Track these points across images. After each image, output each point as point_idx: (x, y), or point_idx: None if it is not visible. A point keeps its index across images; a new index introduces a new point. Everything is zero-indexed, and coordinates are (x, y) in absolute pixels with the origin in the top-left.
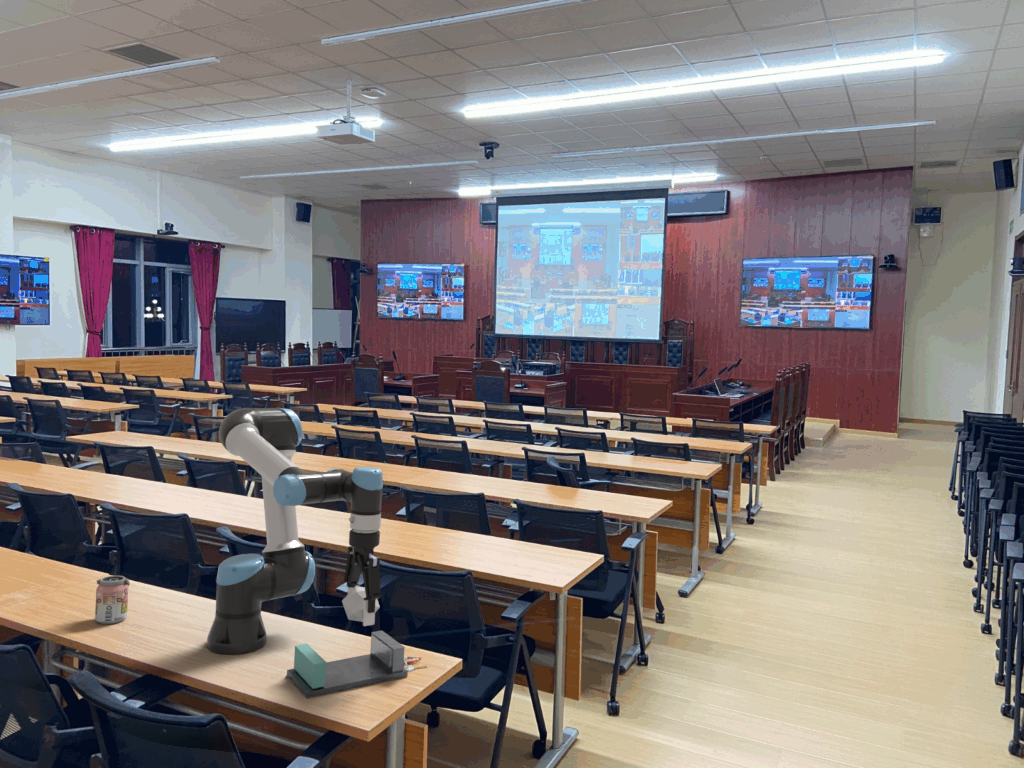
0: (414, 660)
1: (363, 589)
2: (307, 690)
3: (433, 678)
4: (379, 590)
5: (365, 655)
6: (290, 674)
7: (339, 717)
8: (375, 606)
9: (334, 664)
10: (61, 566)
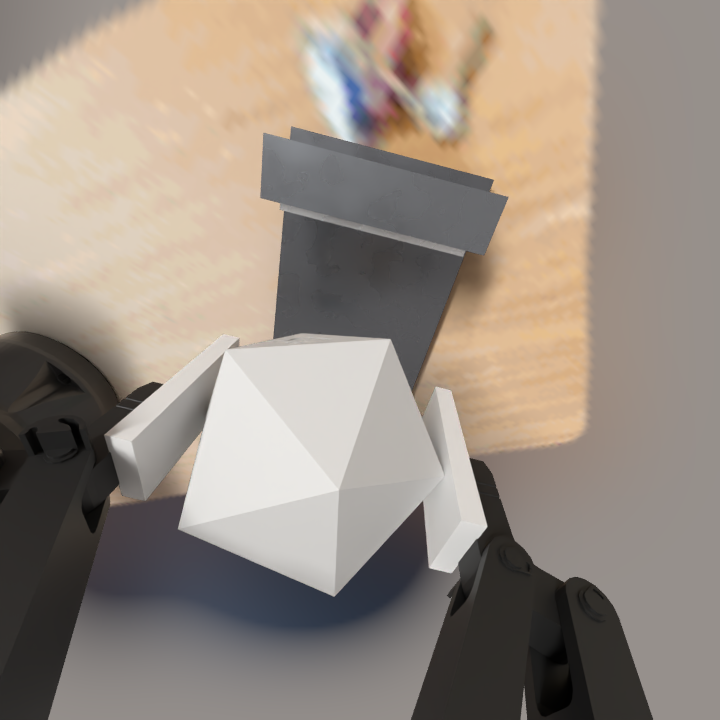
0: (402, 25)
1: (304, 545)
2: None
3: (583, 100)
4: (632, 690)
5: (289, 214)
6: None
7: (502, 442)
8: (419, 413)
9: (297, 329)
10: None
